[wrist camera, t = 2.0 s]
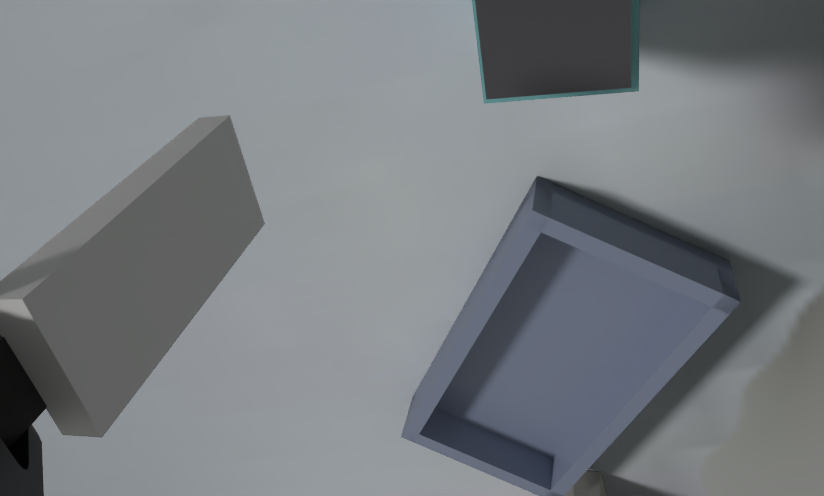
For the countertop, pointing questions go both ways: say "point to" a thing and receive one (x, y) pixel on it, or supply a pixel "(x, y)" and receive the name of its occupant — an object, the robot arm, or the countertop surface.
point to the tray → (566, 340)
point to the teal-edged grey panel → (556, 48)
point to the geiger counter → (588, 485)
